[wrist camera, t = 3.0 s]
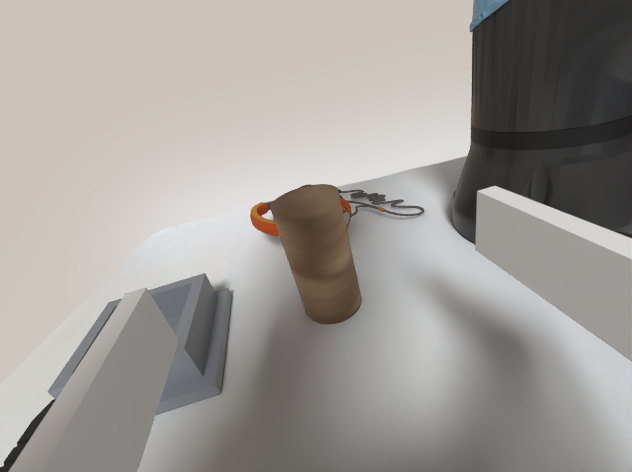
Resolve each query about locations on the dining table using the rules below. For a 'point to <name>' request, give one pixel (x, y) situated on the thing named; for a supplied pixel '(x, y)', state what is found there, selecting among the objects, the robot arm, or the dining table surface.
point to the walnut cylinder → (318, 251)
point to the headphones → (271, 227)
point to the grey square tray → (194, 341)
